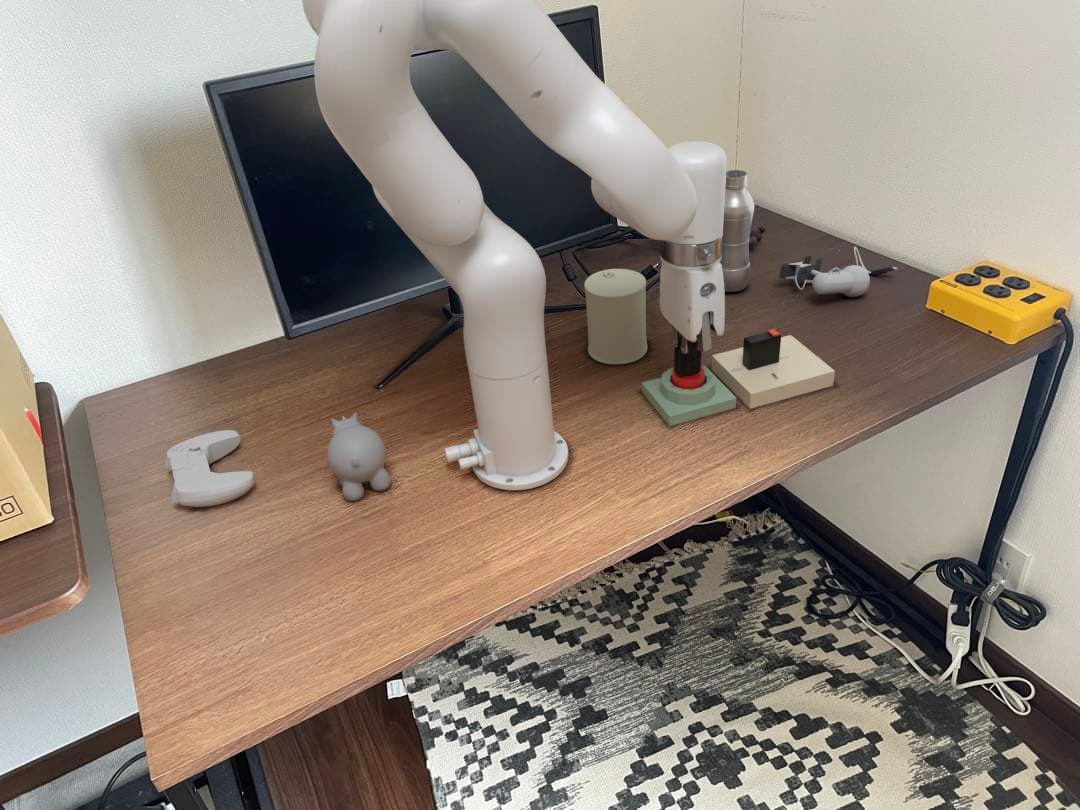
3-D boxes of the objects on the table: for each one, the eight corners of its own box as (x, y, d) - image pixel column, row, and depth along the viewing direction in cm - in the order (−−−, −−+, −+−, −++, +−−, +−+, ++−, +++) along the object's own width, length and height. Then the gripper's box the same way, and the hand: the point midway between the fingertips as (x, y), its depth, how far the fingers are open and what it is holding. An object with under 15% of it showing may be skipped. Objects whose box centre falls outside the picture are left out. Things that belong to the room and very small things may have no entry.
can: (632, 328, 130) (631, 260, 123) (657, 355, 123) (657, 284, 116) (579, 342, 128) (574, 273, 121) (601, 370, 121) (597, 299, 114)
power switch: (669, 426, 108) (669, 405, 106) (641, 392, 115) (641, 371, 113) (736, 408, 110) (737, 386, 108) (705, 375, 117) (705, 355, 115)
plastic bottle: (750, 297, 135) (758, 180, 124) (709, 296, 137) (713, 181, 125) (750, 279, 140) (757, 166, 129) (710, 279, 142) (714, 167, 130)
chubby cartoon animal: (379, 440, 111) (366, 389, 106) (398, 492, 102) (384, 439, 97) (327, 455, 109) (311, 404, 105) (341, 509, 100) (325, 456, 95)
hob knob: (748, 370, 113) (750, 342, 110) (742, 364, 114) (743, 336, 111) (779, 362, 114) (781, 333, 111) (772, 356, 115) (774, 327, 112)
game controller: (257, 476, 102) (171, 492, 97) (260, 504, 104) (176, 521, 99) (236, 420, 113) (158, 432, 108) (239, 447, 115) (162, 460, 110)
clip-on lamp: (849, 277, 144) (772, 284, 136) (857, 242, 141) (779, 246, 133) (903, 296, 134) (823, 304, 127) (912, 259, 132) (832, 265, 124)
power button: (680, 394, 109) (681, 383, 108) (666, 378, 112) (666, 367, 111) (710, 386, 110) (710, 376, 109) (695, 371, 113) (695, 360, 112)
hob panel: (749, 409, 110) (750, 392, 108) (711, 369, 118) (711, 354, 117) (833, 385, 112) (835, 369, 111) (789, 349, 121) (790, 333, 119)
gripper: (749, 263, 94) (739, 393, 105) (690, 220, 106) (687, 341, 117) (691, 276, 93) (687, 407, 103) (638, 231, 105) (639, 352, 115)
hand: (687, 372), depth 110 cm, fingers closed
